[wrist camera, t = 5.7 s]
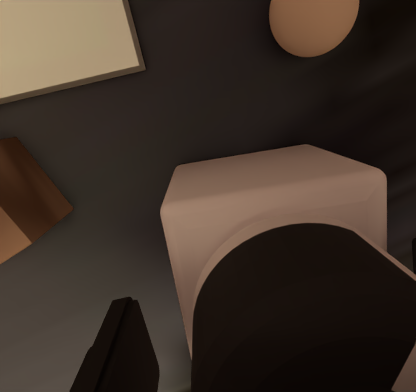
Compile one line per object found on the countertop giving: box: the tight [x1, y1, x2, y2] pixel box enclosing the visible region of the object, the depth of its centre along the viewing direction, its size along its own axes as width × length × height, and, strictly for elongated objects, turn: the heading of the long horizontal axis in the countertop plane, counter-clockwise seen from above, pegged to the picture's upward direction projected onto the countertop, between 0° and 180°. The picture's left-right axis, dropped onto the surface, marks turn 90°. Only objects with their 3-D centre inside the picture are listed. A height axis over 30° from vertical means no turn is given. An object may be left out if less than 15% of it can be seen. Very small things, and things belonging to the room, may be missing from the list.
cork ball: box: [269, 0, 359, 57], centre depth 13 cm, size 4×4×4 cm
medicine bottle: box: [160, 144, 416, 392], centre depth 12 cm, size 7×7×12 cm
